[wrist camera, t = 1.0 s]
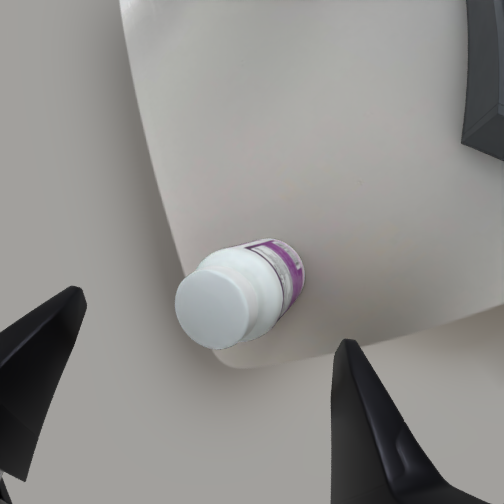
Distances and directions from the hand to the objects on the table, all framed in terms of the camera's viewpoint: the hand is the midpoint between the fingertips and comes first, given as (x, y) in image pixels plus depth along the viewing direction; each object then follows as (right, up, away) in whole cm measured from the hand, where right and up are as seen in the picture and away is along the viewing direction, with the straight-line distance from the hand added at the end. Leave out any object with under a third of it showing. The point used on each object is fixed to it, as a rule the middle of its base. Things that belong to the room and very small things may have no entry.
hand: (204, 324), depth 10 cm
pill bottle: (+3, +1, +14) cm, 14 cm away
